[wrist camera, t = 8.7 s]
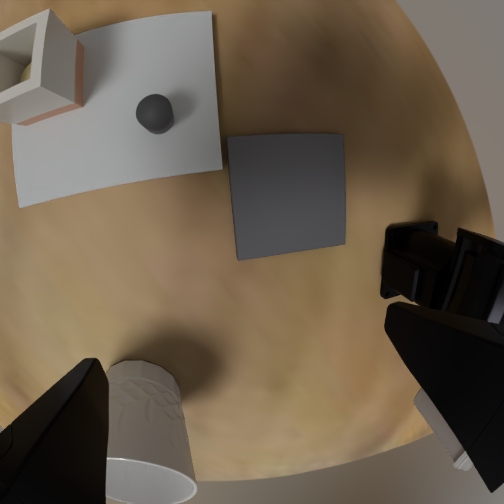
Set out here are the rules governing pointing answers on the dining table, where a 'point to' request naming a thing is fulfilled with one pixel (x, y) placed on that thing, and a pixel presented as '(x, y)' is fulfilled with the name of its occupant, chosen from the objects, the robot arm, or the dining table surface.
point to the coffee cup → (442, 431)
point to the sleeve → (39, 70)
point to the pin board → (128, 112)
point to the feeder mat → (286, 192)
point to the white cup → (147, 437)
